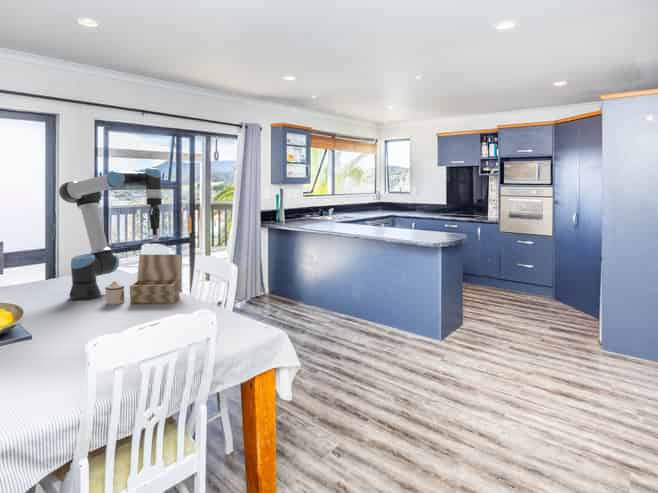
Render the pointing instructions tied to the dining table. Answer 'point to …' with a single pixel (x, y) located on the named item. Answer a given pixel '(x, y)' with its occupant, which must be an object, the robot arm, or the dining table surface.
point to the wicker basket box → (154, 291)
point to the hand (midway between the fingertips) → (155, 240)
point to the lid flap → (159, 267)
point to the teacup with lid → (114, 293)
